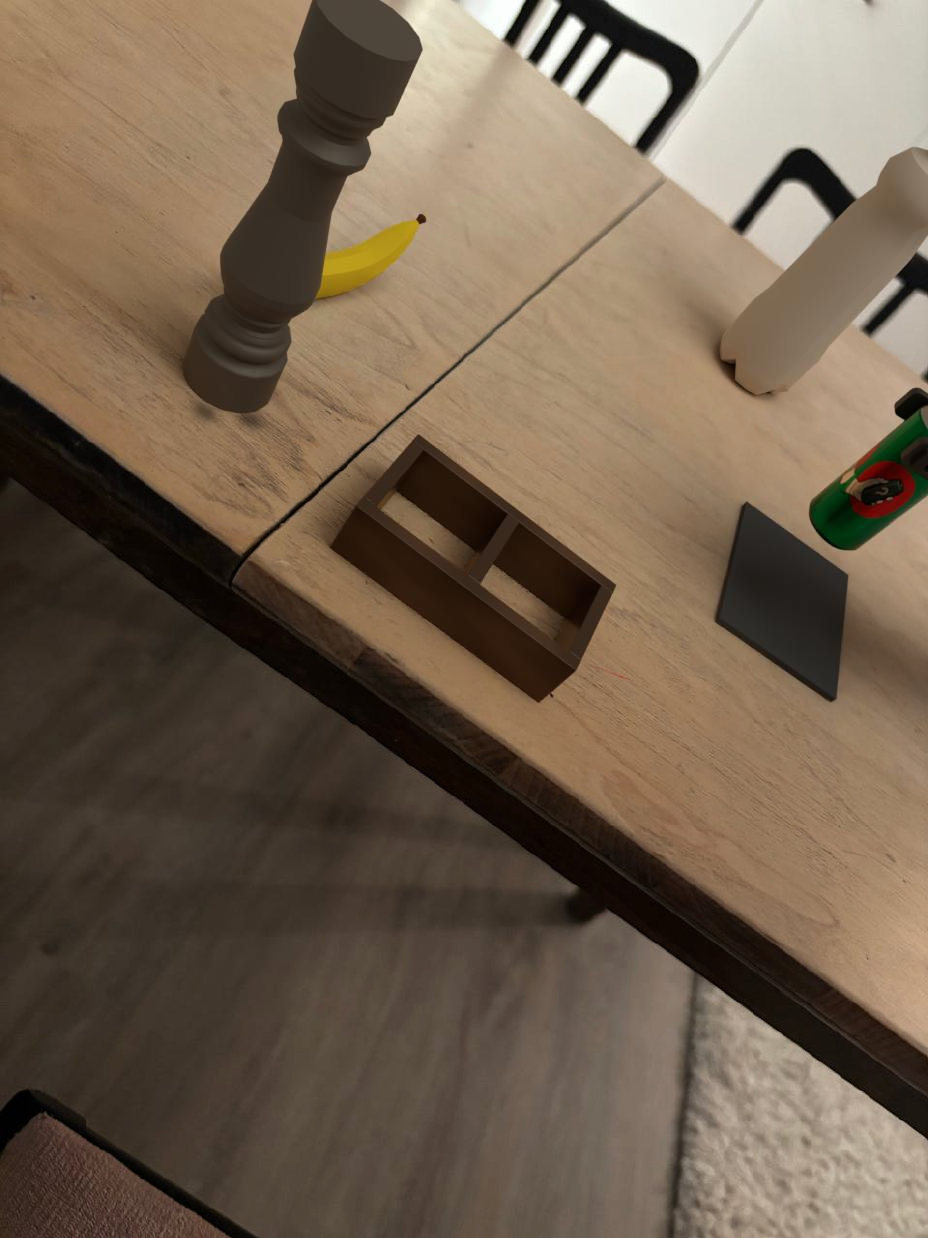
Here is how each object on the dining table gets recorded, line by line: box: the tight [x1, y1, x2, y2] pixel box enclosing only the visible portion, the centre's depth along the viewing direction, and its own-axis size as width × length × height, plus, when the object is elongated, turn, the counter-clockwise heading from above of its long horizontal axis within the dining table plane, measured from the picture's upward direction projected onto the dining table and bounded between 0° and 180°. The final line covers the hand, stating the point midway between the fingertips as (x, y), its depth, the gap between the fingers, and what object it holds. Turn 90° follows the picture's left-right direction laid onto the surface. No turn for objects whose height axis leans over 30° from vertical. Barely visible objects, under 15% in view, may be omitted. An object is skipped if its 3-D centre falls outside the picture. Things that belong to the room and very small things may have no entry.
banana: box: [315, 213, 427, 299], centre depth 71 cm, size 3×19×6 cm, turn 133°
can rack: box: [329, 433, 617, 703], centre depth 63 cm, size 17×9×4 cm, turn 64°
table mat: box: [715, 501, 850, 703], centre depth 81 cm, size 16×12×1 cm
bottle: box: [719, 146, 928, 396], centre depth 89 cm, size 9×9×30 cm
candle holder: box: [182, 0, 424, 414], centre depth 55 cm, size 6×6×25 cm
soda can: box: [808, 404, 928, 552], centre depth 68 cm, size 5×5×12 cm
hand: (908, 423), depth 64 cm, fingers closed on soda can, 5 cm apart
